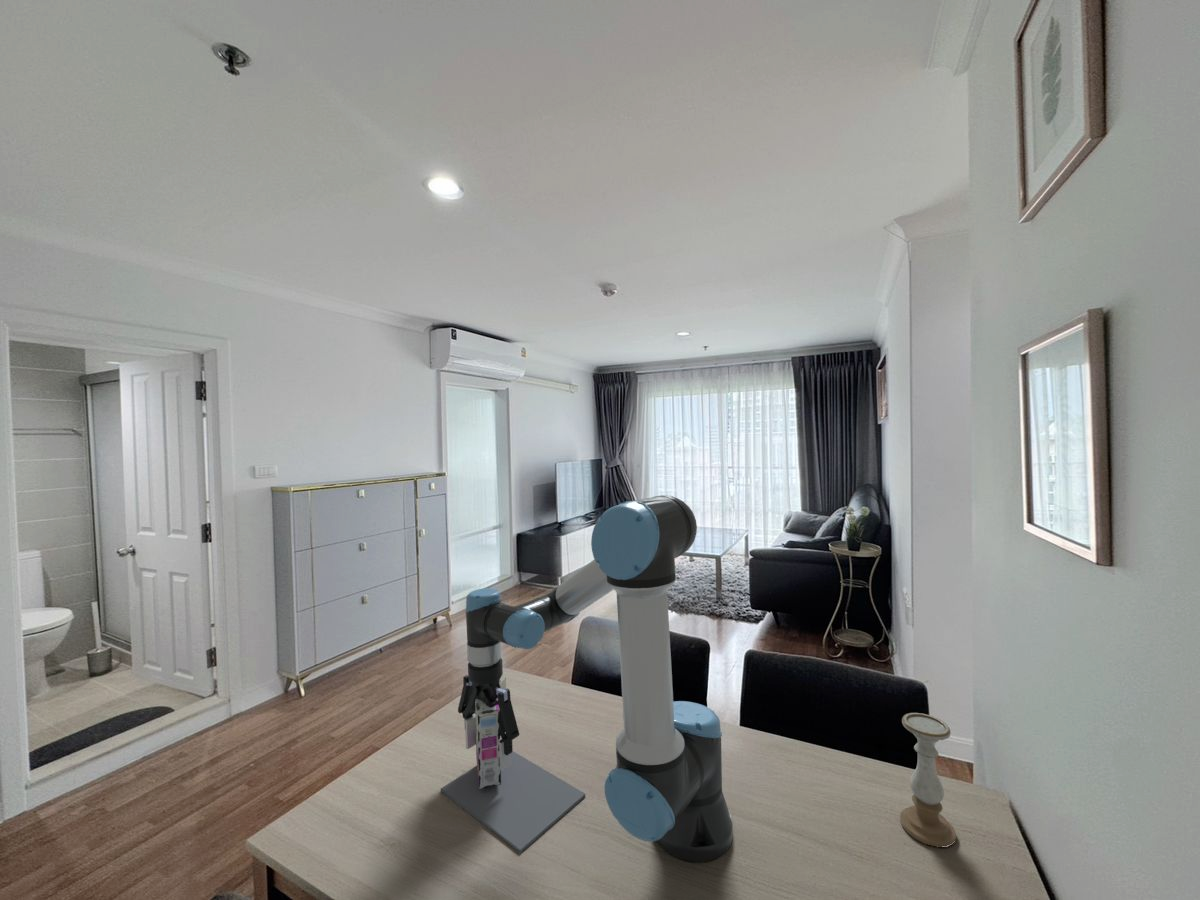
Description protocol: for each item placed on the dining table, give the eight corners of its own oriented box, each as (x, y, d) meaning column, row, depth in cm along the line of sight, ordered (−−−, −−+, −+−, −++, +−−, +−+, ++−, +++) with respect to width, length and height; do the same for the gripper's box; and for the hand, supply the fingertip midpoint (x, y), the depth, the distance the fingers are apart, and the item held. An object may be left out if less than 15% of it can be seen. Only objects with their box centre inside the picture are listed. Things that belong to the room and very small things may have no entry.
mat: (585, 796, 103) (585, 793, 103) (520, 853, 89) (520, 849, 89) (505, 749, 120) (505, 746, 120) (440, 791, 106) (440, 788, 106)
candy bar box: (502, 785, 105) (500, 709, 105) (479, 790, 103) (476, 714, 103) (497, 754, 116) (495, 685, 115) (475, 758, 114) (473, 689, 114)
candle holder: (889, 819, 95) (887, 716, 94) (921, 806, 98) (919, 706, 97) (934, 855, 86) (932, 742, 86) (967, 839, 90) (965, 730, 89)
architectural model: (486, 711, 138) (486, 685, 138) (497, 698, 145) (496, 673, 144) (498, 712, 137) (497, 686, 137) (508, 699, 144) (507, 674, 144)
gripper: (534, 668, 104) (537, 768, 105) (467, 641, 120) (470, 729, 120) (506, 682, 99) (509, 788, 99) (440, 652, 114) (443, 744, 114)
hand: (488, 756), depth 110 cm, fingers closed on candy bar box, 12 cm apart
